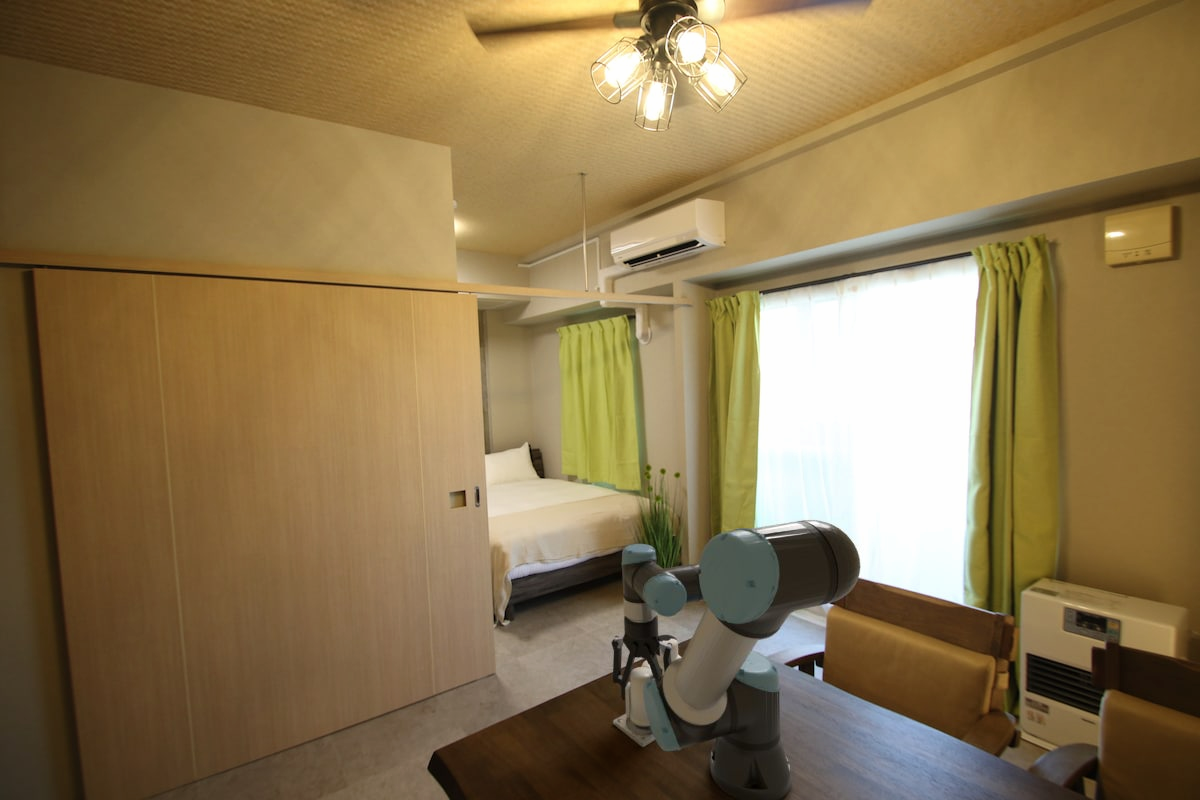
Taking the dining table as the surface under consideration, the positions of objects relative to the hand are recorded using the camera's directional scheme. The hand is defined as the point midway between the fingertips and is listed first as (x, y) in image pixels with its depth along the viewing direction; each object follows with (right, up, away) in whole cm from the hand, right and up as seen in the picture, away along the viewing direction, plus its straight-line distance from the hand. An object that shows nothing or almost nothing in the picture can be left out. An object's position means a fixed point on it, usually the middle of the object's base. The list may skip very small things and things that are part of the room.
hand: (644, 715), depth 118 cm
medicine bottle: (+7, -2, +15) cm, 17 cm away
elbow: (0, 0, +1) cm, 1 cm away
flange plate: (0, -2, 0) cm, 2 cm away
